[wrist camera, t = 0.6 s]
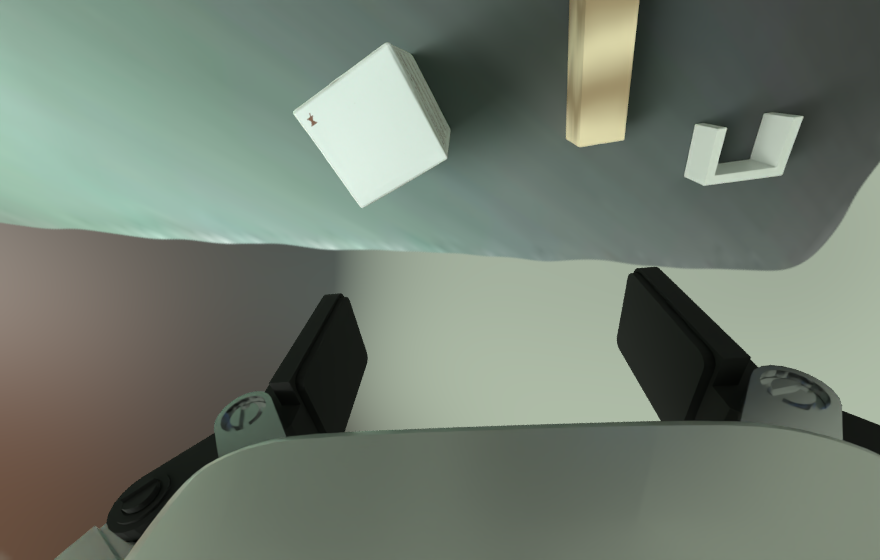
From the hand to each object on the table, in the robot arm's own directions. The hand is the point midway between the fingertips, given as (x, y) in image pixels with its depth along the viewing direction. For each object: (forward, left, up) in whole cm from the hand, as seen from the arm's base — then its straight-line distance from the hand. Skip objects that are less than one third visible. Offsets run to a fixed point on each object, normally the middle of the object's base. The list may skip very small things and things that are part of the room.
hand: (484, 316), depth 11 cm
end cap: (+2, +24, -26) cm, 35 cm away
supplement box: (-5, -6, -26) cm, 27 cm away
